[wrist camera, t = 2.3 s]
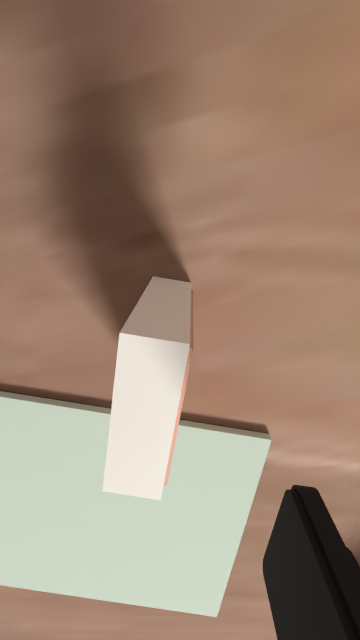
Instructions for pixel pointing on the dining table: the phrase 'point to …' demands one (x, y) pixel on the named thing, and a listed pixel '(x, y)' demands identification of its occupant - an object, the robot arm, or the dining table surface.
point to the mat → (120, 509)
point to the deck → (149, 389)
